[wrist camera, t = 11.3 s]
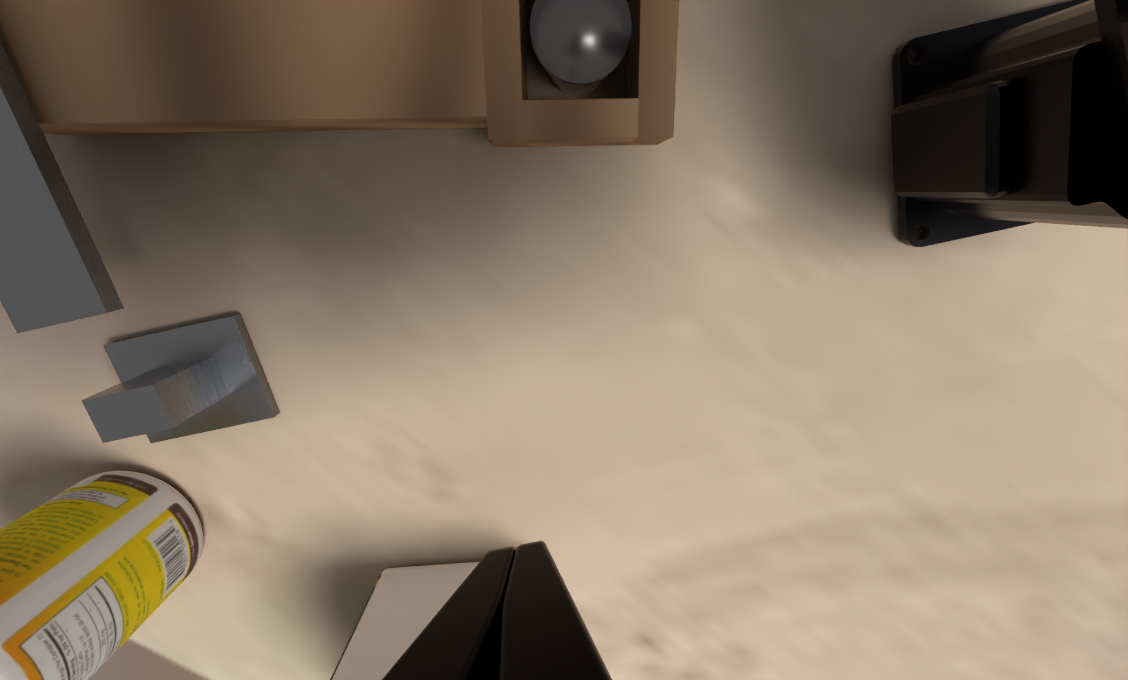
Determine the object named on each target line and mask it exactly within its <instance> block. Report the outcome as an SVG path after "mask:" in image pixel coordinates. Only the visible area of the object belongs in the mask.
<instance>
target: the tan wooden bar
mask: <svg viewBox="0 0 1128 680" xmlns="http://www.w3.org/2000/svg"><path fill="white" fill-rule="evenodd" d="M525 1H535V0H0V41H1V43H2V45H3V48H4V50H5V52H6V54H7V56H8V58H9V61H10V63H11V65H12V67H13V69H14V71H15V74H16V76H17V78H18V80H19V82H20V84H21V87H22V89H23V91H24V93H25V95H26V97H27V99H28V102H29V104H30V106H31V108H32V110H33V112H34V115H35V117H36V119H37V121H38V123H39V125H40V128H41V130H42V132H43V133H48V134H116V133H179V132H243V131H306V130H369V129H432V128H487V131H488V140H489V141H491V142H492V143H494V144H495V145H497V146H498V147H534V146H597V145H657V144H659V143H661V142H663V141H665V140H667V139H669V138H671V137H673V131H674V106H675V81H676V56H677V31H678V6H679V0H629V9H630V14H631V37H630V41H629V45H628V97H627V99H567V100H528V90H527V58H526V26H525Z"/></svg>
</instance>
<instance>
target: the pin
mask: <svg viewBox="0 0 1128 680" xmlns="http://www.w3.org/2000/svg"><path fill="white" fill-rule="evenodd" d="M530 34H531V41H532V45H533V48H534V51H535V54H536V56H537V58H538V60H539V62H540V63H541V64H542V66H543V67H544V68H545V69H546V70H547V71H548V74H549V76H550V78H551V80H552V81H553V82H554V84H555V85H556V86H557V87H558V88H560V89H561V90H563V91H565V92H567V93H570V94H584V93H587V92H589V91H591V90H593V89H594V88H595V87H597V86H598V85H599V84H600V82H601V81H602V80H603V78H605V77H607V76H608V75H609V74H610V73H611V72H613V71H614V69H615V68H616V67H617V66H618V65H619V63H620V62H621V60H622V58H623V56H624V55H625V52H626V50H627V47H628V45H629V41H630V37H631V14H630V9H629V6H628V3H627V0H535V2H534V5H533V8H532V12H531V17H530Z"/></svg>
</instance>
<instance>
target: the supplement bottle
mask: <svg viewBox="0 0 1128 680" xmlns="http://www.w3.org/2000/svg"><path fill="white" fill-rule="evenodd" d="M202 548H203V531H202V526H201V523H200V520H199V518H198V515H197V514H196V512H195V510H194V508H193V507H192V505H191V504H190V503H189V502H188V501H187V499H186V498H185V497H184V496H183V495H182V494H181V493H180V492H178V491H177V490H176V489H174V488H173V487H172V486H170V485H169V484H167V483H165V482H163V481H161V480H159V479H157V478H155V477H152V476H149V475H146V474H143V473H139V472H132V471H109V472H103V473H99V474H95V475H93V476H90V477H88V478H85V479H83V480H81V481H80V482H78V483H76V484H74V485H73V486H71V487H69V488H67V489H66V490H64V491H63V492H61V493H59V494H58V495H56V496H54V497H53V498H51V499H49V500H48V501H46V502H45V503H43V504H41V505H40V506H38V507H37V508H35V509H33V510H32V511H30V512H28V513H26V514H25V515H23V516H22V517H20V518H18V519H17V520H15V521H13V522H12V523H10V524H8V525H7V526H5V527H4V528H2V529H0V680H89V679H90V677H92V675H93V674H94V673H95V672H96V671H97V670H99V668H100V667H101V666H102V665H103V664H104V663H105V662H106V661H107V660H108V659H109V658H110V657H111V656H112V655H113V654H114V653H115V652H116V650H117V649H118V648H119V647H120V646H121V645H122V644H123V643H124V642H125V641H126V640H127V639H128V638H129V637H130V636H131V635H132V634H133V633H134V632H135V631H136V630H137V629H138V628H139V627H140V626H141V624H142V623H143V622H144V621H145V620H146V619H147V618H148V617H149V616H150V615H151V614H152V613H153V612H154V611H155V610H156V609H157V608H158V607H159V606H160V605H161V604H162V603H163V601H164V600H165V599H166V598H167V597H168V596H169V595H170V594H171V593H172V592H173V591H174V590H175V589H176V588H177V587H178V586H179V585H180V584H181V583H182V582H183V581H184V580H185V578H186V577H187V576H188V575H189V574H190V573H191V571H192V570H193V569H194V567H195V566H196V564H197V562H198V560H199V558H200V555H201V552H202Z"/></svg>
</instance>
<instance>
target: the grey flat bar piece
mask: <svg viewBox="0 0 1128 680" xmlns="http://www.w3.org/2000/svg"><path fill="white" fill-rule="evenodd" d="M0 301H1V303H2V305H3V306H4V308H5V310H6V312H7V314H8V316H9V318H10V320H11V322H12V323H13V325H14V327H15V329H16V331H17V333H20V332H24V331H29V330H33V329H37V328H42V327H46V326H51V325H55V324H59V323H64V322H68V321H73V320H77V319H81V318H86V317H90V316H95V315H99V314H103V313H108V312H111V311H115V310H119V309H123V308H124V307H123V305H122V303H121V301H120V298H119V296H118V294H117V292H116V290H115V288H114V285H113V283H112V281H111V279H110V277H109V275H108V272H107V270H106V268H105V266H104V264H103V262H102V259H101V257H100V255H99V253H98V251H97V249H96V247H95V244H94V242H93V240H92V238H91V236H90V234H89V231H88V229H87V227H86V225H85V223H84V221H83V218H82V216H81V214H80V212H79V210H78V208H77V205H76V203H75V201H74V199H73V197H72V195H71V192H70V190H69V188H68V186H67V184H66V182H65V179H64V177H63V175H62V173H61V171H60V169H59V167H58V164H57V162H56V160H55V158H54V156H53V154H52V151H51V149H50V147H49V145H48V143H47V141H46V138H45V136H44V134H43V132H42V130H41V128H40V125H39V123H38V121H37V119H36V117H35V115H34V112H33V110H32V108H31V106H30V104H29V102H28V99H27V97H26V95H25V93H24V91H23V89H22V87H21V84H20V82H19V80H18V78H17V76H16V74H15V71H14V69H13V67H12V65H11V63H10V61H9V58H8V56H7V54H6V52H5V50H4V48H3V45H2V43H1V41H0ZM104 348H105V350H106V352H107V354H108V356H109V358H110V360H111V362H112V364H113V366H114V368H115V370H116V372H117V374H118V377H119V379H120V381H121V383H120V384H118V385H116V386H113V387H111V388H109V389H106V390H104V391H102V392H100V393H97V394H95V395H93V396H90V397H88V398H86V399H84V400H82V402H83V404H84V406H85V408H86V410H87V412H88V414H89V416H90V418H91V420H92V422H93V424H94V426H95V428H96V430H97V432H98V434H99V436H100V438H101V440H102V442H103V443H105V442H109V441H114V440H119V439H123V438H128V437H133V436H138V435H142V434H147V437H148V439H149V441H150V443H154V442H159V441H164V440H168V439H173V438H178V437H183V436H187V435H192V434H197V433H202V432H206V431H211V430H216V429H221V428H225V427H230V426H235V425H240V424H244V423H249V422H254V421H259V420H263V419H268V418H273V417H275V416H276V415H278V414H279V413H280V412H279V409H278V407H277V404H276V402H275V399H274V397H273V394H272V392H271V389H270V387H269V384H268V382H267V380H266V377H265V375H264V372H263V370H262V367H261V365H260V362H259V360H258V357H257V355H256V352H255V350H254V347H253V345H252V342H251V340H250V337H249V335H248V332H247V330H246V327H245V325H244V322H243V320H242V317H241V315H240V314H237V315H232V316H228V317H223V318H219V319H214V320H210V321H205V322H201V323H196V324H192V325H187V326H183V327H178V328H174V329H169V330H165V331H160V332H156V333H151V334H147V335H143V336H138V337H134V338H129V339H125V340H120V341H116V342H112V343H109V344H106V345H104Z"/></svg>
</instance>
